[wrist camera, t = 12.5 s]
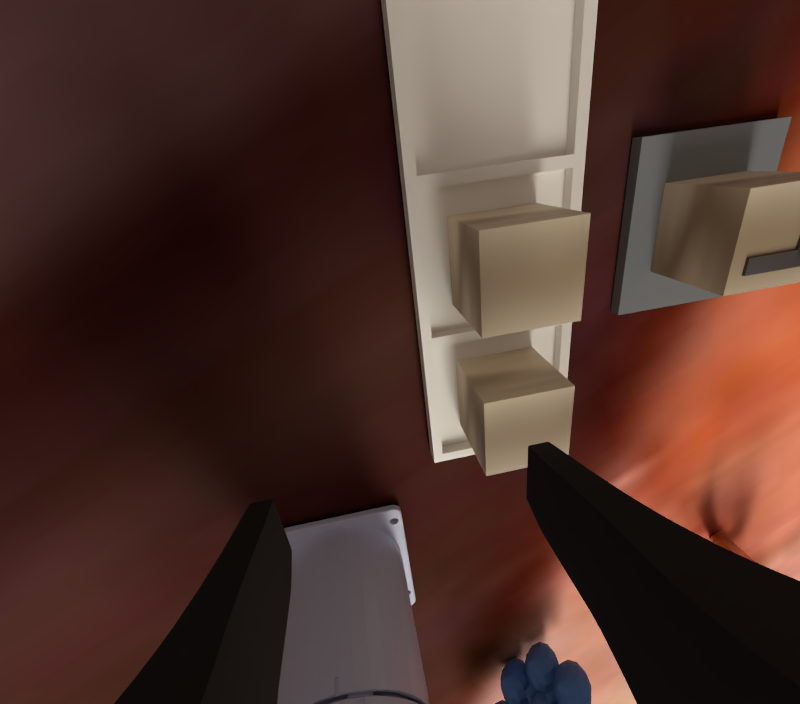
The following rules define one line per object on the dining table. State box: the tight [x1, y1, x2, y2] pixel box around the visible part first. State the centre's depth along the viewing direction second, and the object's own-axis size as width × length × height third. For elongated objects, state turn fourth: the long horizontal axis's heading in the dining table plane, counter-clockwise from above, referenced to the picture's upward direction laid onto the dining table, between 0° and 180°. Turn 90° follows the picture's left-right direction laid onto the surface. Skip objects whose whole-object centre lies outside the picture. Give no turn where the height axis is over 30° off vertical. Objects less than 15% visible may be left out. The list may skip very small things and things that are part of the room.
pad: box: [611, 117, 791, 315], centre depth 19 cm, size 8×7×1 cm
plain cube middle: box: [447, 203, 591, 338], centre depth 16 cm, size 4×4×4 cm
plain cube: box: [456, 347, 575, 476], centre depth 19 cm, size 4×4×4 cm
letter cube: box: [650, 171, 800, 296], centre depth 17 cm, size 4×4×4 cm
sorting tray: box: [381, 0, 598, 463], centre depth 18 cm, size 22×8×1 cm, turn 7°
